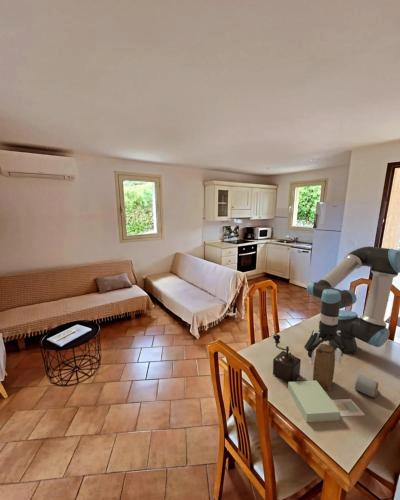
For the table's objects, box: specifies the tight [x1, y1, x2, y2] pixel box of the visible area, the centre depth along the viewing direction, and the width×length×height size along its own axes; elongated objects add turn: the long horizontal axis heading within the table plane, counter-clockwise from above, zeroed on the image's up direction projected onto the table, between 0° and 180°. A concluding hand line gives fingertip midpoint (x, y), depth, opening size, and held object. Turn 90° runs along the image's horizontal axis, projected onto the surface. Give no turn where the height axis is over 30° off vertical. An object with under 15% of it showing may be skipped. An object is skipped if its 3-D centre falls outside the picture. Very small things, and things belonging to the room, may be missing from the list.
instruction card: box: [331, 398, 365, 418], centre depth 96 cm, size 10×8×1 cm
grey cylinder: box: [354, 372, 380, 398], centre depth 105 cm, size 11×8×8 cm
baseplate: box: [287, 380, 341, 423], centre depth 98 cm, size 14×17×4 cm
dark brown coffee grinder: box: [272, 333, 302, 384], centre depth 116 cm, size 16×11×18 cm
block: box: [312, 343, 336, 391], centre depth 108 cm, size 11×8×20 cm
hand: (324, 362), depth 108 cm, fingers open, 13 cm apart
